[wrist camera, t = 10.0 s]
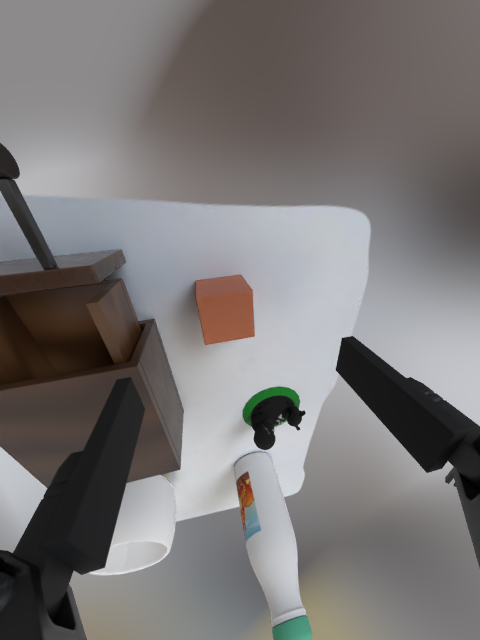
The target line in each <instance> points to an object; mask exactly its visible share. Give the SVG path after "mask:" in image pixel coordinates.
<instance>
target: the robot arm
mask: <svg viewBox="0 0 480 640" xmlns="http://www.w3.org/2000/svg"><path fill="white" fill-rule="evenodd" d="M336 371H337V372H338V373H339V374H340V375H341V377H342V378H343V379H344V380H345V381H346V382H347V383H348V384H349V385H350V387H351V388H352V389H353V390H354V391H355V392H356V393H357V395H358V396H359V397H360V398H361V399H362V400H363V401H364V402H365V404H366V405H367V406H368V407H369V408H370V409H371V410H372V411H373V412H374V414H375V415H376V416H377V417H378V418H379V419H380V420H381V422H382V423H383V424H384V425H385V426H386V427H387V428H388V429H389V431H390V432H391V433H392V434H393V435H394V436H395V437H396V438H397V440H398V441H399V442H400V443H401V444H402V445H403V446H404V448H405V449H406V450H407V451H408V452H409V453H410V454H411V455H412V456H413V458H414V459H415V460H416V461H417V462H418V463H419V464H420V466H421V467H422V468H423V469H424V470H425V471H426V472H427V473H428V472H432V471H435V470H438V469H442V468H443V466H444V465H445V464H446V462H447V461H449V462H450V463H451V464H452V465H453V466H454V467H453V469H452V470H451V471H450V472H449V474H448V475H447V476H446V478H445V482H446V483H448V484H449V483H450V482H451V481H452V479H453V478H454V480H455V483H454V486H456V487H457V490H458V493H459V497H460V500H461V504H462V508H463V511H464V514H465V518H466V522H467V525H468V529H469V532H470V535H471V539H472V542H473V546H474V550H475V553H476V557H477V560H478V563H479V567H480V426H478V425H477V424H476V423H475V422H473V421H472V420H471V419H469V418H468V417H467V416H465V415H464V414H463V413H461V412H460V411H459V410H457V409H456V408H455V407H453V406H452V405H451V404H449V403H448V402H447V401H445V400H443V398H441V397H440V396H439V395H438V394H435V393H434V392H433V391H432V390H431V389H429V388H428V387H427V386H425V385H424V384H423V383H421V382H419V381H417V380H414V379H413V378H411V377H410V378H405V377H404V376H403V375H401V374H400V373H399V372H397V371H396V370H395V369H394V368H393V367H391V366H390V365H389V364H387V363H386V362H385V361H384V360H382V359H381V358H380V357H379V356H377V355H376V354H375V353H374V352H372V351H371V350H370V349H368V348H367V347H366V346H365V345H363V344H362V343H361V342H360V341H358V340H357V339H356V338H354V337H353V336H351V337H345V338H342V341H341V346H340V351H339V356H338V361H337V366H336ZM144 413H145V407H144V405H143V403H142V400H141V398H140V396H139V394H138V391H137V389H136V387H135V385H134V383H133V380H132V378H131V377H127V378H122V379H117V380H116V382H115V384H114V386H113V388H112V390H111V393H110V395H109V397H108V399H107V401H106V403H105V405H104V407H103V410H102V412H101V414H100V416H99V418H98V420H97V422H96V424H95V426H94V429H93V431H92V433H91V435H90V437H89V439H88V441H87V443H86V445H85V448H84V450H83V451H79V452H74V453H71V454H70V455H69V456H68V457H67V459H66V460H65V461H64V462H63V463H62V464H61V466H60V467H59V468H58V470H57V472H56V474H55V476H54V478H53V479H52V481H51V485H50V486H49V487H48V489H47V491H46V493H45V494H44V498H43V499H42V500H41V502H40V504H39V506H38V508H37V509H36V511H35V513H34V515H33V517H32V519H31V521H30V522H29V524H28V526H27V528H26V530H25V532H24V534H23V535H22V537H21V539H20V541H19V543H18V545H17V547H16V549H15V550H14V552H13V553H11V552H9V551H4V550H0V640H87V639H86V635H85V632H84V629H83V625H82V622H81V619H80V615H79V612H78V608H77V605H76V601H75V598H74V595H73V591H72V588H71V587H70V585H69V582H70V579H71V576H72V573H73V570H74V571H76V572H78V573H79V574H81V575H82V574H86V573H89V572H93V571H96V570H99V569H103V568H105V565H106V561H107V558H108V554H109V550H110V546H111V542H112V538H113V534H114V530H115V526H116V522H117V518H118V514H119V511H120V507H121V503H122V499H123V495H124V491H125V487H126V483H127V479H128V475H129V471H130V468H131V464H132V460H133V456H134V452H135V448H136V444H137V440H138V436H139V432H140V428H141V425H142V421H143V417H144Z"/></svg>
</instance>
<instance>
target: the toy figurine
mask: <svg viewBox="0 0 480 640" xmlns="http://www.w3.org/2000/svg"><path fill="white" fill-rule="evenodd" d="M299 404H300V400H299V396H298V394H297V393H296V392H295V391H293V390H291V389H289V388H284V387H276V388H269V389H267V390H264V391H261V392H260V393H258V394H256V395H255V396H253V397H252V398H251V399H250V400H249V401H248V402H247V403H246V406H245V408H244V410H243V418H244V420H245V422H246V423H247V424H248V425H250V426H252V428H253V429H254V431H255V434H254V442H255V444H256V445H257V447H258V448H260V449H262V450H268V449H270V448H271V447H272V446H273V445H274V443H275V435H274V427H275V426H278V425H281V424H283V423H284V422H286V421H287V422H288V424H289V425H291V426H295V427H296V429H297V430H300V428H299V427H298V426H297V425H299V424H300V422H301V420H302V416H303V415H305V411H299V409H298V408H299Z"/></svg>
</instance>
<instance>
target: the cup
mask: <svg viewBox="0 0 480 640" xmlns="http://www.w3.org/2000/svg"><path fill="white" fill-rule="evenodd" d="M175 520H176V501H175V495H174V490H173V488H172V486H171V484H170V483H169V481H168V480H167V479H166V478H165V477H164V476H161V475H157V476H153V477H149V478H145V479H141V480H137V481H133V482H129V483H126V487H125V491H124V495H123V499H122V503H121V507H120V511H119V514H118V518H117V522H116V526H115V530H114V534H113V538H112V542H111V546H110V550H109V554H108V558H107V561H106V565H105V568H103V569H99V570H96V571H93V572H89V573H90V574H92V575H117V574H125V573H129V572H133V571H138V570H141V569H144V568H146V567H149V566H152V565H154V564H156V563H157V562H159V561H161V560H163V559H164V558H165V557H166V556H167V554H168V553H169V552H170V549H171V545H172V541H173V537H174V533H175Z"/></svg>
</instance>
